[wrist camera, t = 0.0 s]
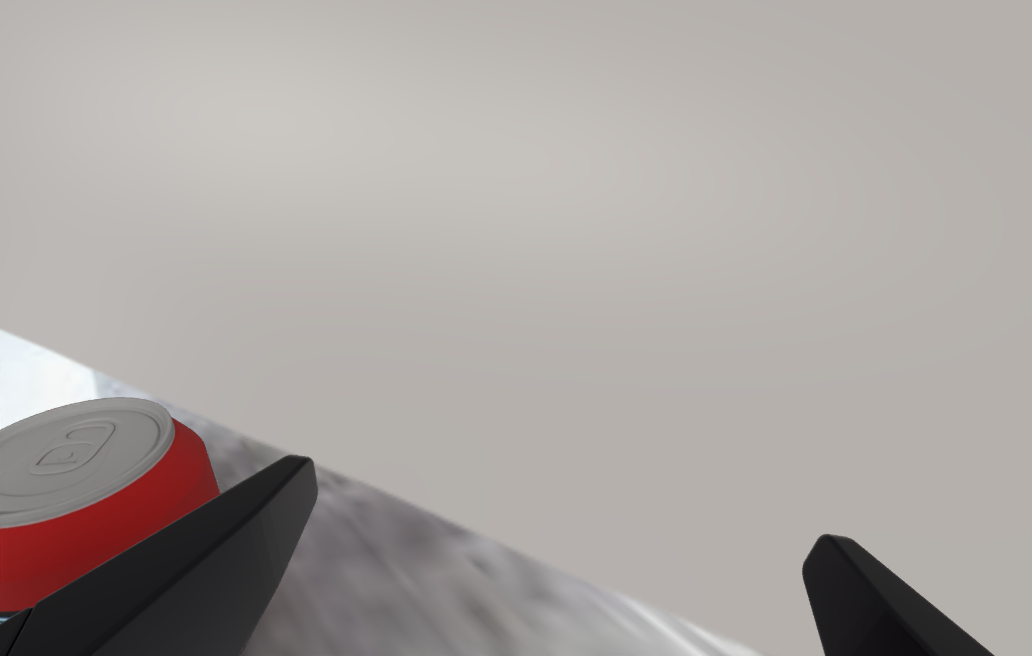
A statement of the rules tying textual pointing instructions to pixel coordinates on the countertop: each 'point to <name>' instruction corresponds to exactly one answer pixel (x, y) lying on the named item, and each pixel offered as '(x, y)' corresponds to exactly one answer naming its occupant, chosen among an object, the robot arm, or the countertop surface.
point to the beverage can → (90, 490)
